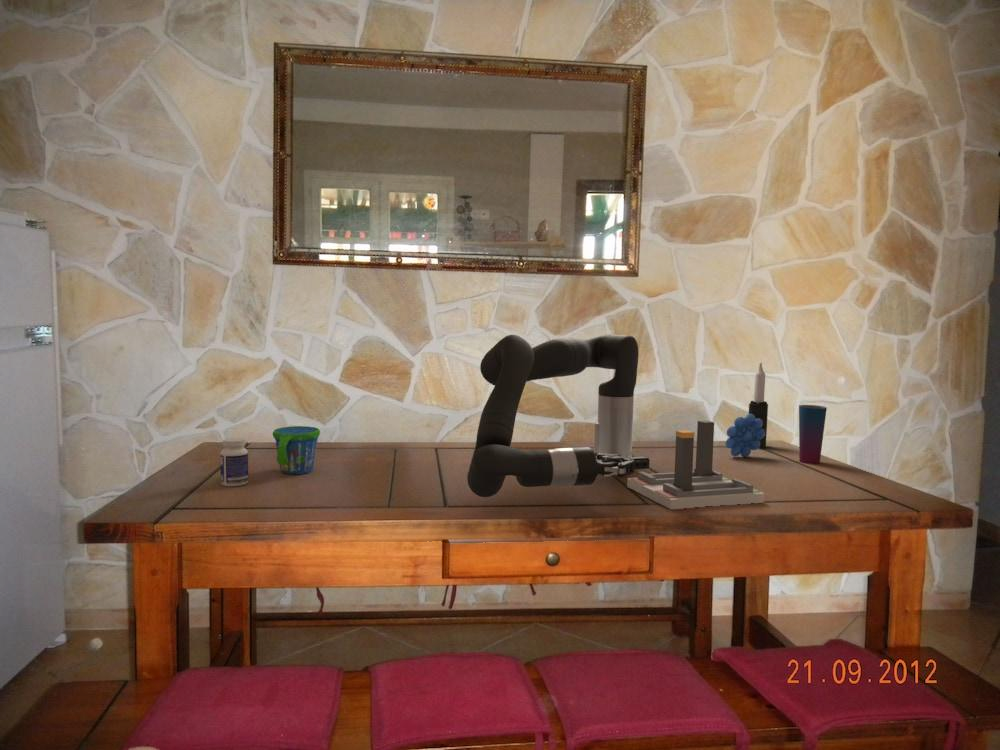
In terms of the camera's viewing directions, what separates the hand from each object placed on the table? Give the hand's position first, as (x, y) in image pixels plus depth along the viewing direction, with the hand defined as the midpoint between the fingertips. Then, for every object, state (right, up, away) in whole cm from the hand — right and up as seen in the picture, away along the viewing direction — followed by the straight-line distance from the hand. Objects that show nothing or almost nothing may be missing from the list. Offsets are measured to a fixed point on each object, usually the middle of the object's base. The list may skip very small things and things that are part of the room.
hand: (647, 462), depth 147 cm
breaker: (+8, -7, +3) cm, 11 cm away
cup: (+53, -6, +47) cm, 71 cm away
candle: (+47, -4, +69) cm, 83 cm away
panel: (+12, -8, +10) cm, 18 cm away
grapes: (+37, -5, +54) cm, 65 cm away
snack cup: (-78, -6, +25) cm, 83 cm away
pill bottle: (-89, -6, +13) cm, 90 cm away
